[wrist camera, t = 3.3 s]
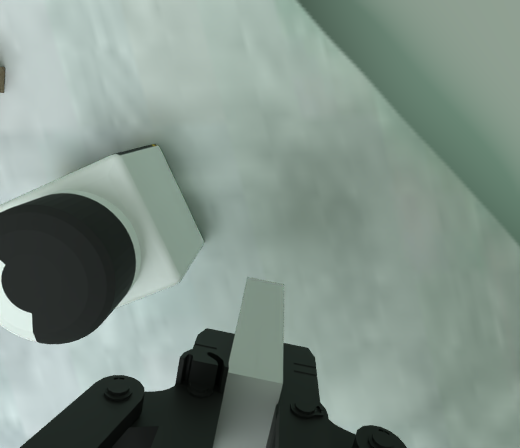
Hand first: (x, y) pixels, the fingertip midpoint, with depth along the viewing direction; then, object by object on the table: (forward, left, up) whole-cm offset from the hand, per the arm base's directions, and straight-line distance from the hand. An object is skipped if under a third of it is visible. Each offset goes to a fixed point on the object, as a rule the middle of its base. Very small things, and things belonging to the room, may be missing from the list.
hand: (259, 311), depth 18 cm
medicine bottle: (+9, 0, -11) cm, 14 cm away
